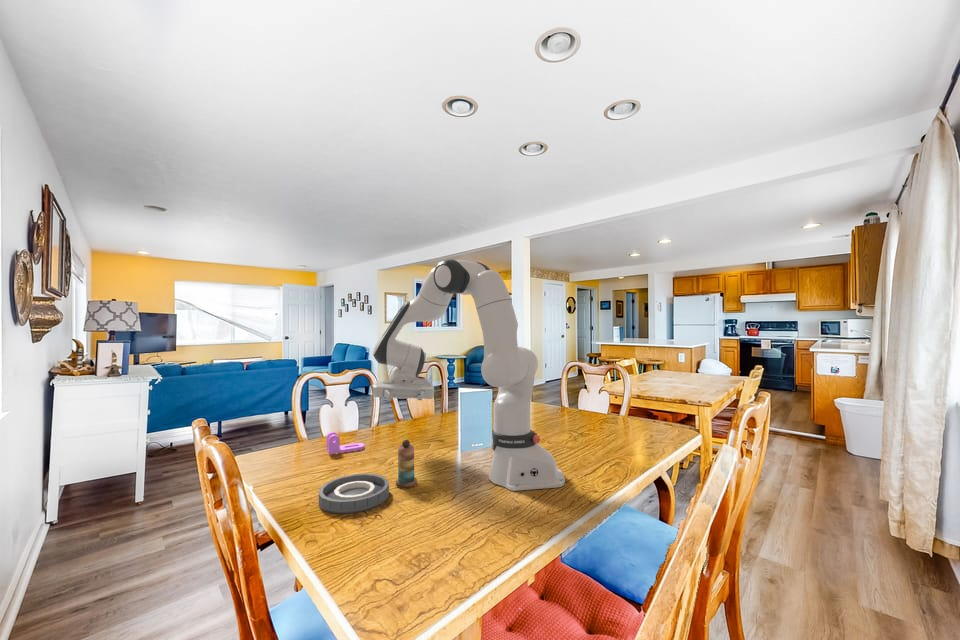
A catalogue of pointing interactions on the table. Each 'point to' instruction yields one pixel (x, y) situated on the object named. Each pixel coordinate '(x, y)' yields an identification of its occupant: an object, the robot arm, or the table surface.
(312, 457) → the table surface
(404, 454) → the bead stack
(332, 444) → the bracket
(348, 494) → the tray
